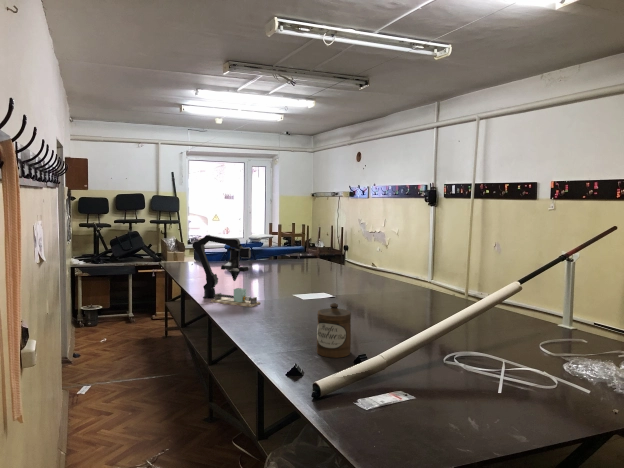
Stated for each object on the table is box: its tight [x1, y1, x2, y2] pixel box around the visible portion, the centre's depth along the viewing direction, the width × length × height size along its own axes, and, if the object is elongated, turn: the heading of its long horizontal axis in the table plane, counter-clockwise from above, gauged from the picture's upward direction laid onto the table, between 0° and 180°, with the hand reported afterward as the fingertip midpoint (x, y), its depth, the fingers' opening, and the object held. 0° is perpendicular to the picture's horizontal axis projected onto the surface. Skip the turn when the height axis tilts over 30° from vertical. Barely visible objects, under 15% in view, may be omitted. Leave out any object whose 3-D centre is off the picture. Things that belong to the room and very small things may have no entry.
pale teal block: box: [233, 287, 247, 302], centre depth 304 cm, size 6×5×8 cm
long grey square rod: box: [218, 293, 255, 301], centre depth 306 cm, size 29×2×2 cm, turn 65°
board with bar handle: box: [210, 292, 261, 308], centre depth 306 cm, size 30×11×5 cm, turn 65°
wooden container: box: [316, 302, 352, 359], centre depth 210 cm, size 15×15×22 cm
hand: (234, 280), depth 317 cm, fingers closed
